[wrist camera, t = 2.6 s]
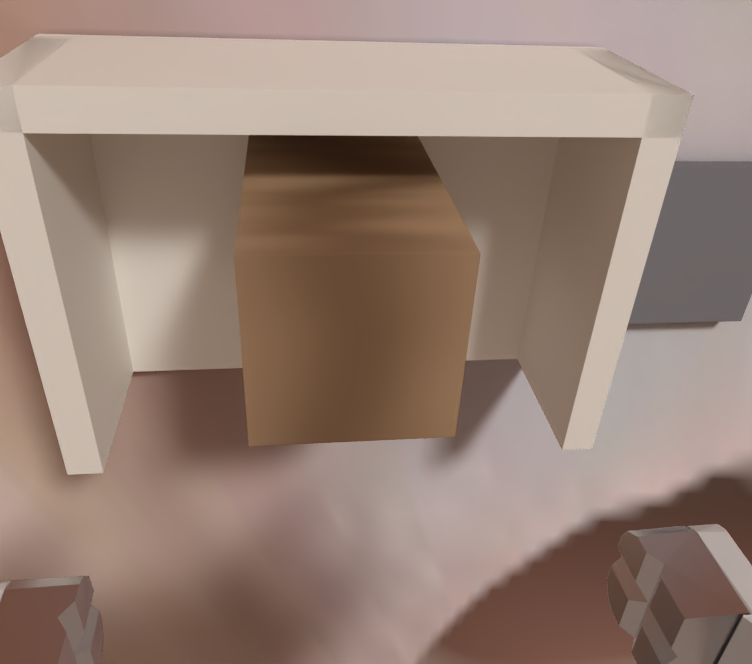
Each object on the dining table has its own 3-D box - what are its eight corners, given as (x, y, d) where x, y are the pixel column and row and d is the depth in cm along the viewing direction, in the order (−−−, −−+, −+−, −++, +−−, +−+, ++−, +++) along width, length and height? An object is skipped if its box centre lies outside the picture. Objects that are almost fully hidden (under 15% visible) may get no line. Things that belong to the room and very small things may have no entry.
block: (416, 134, 21) (480, 253, 14) (405, 279, 24) (454, 437, 17) (249, 133, 20) (234, 257, 14) (257, 282, 23) (248, 446, 16)
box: (601, 47, 21) (693, 95, 16) (538, 350, 27) (592, 448, 22) (38, 33, 19) (-41, 84, 14) (106, 364, 25) (67, 474, 20)
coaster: (789, 161, 23) (800, 168, 23) (732, 312, 27) (741, 320, 26) (621, 161, 23) (629, 167, 22) (583, 316, 26) (589, 325, 25)
